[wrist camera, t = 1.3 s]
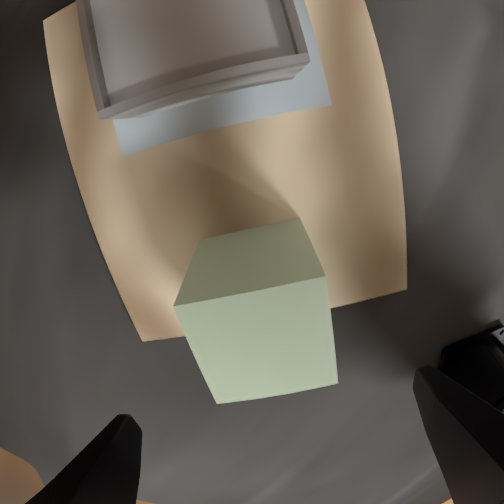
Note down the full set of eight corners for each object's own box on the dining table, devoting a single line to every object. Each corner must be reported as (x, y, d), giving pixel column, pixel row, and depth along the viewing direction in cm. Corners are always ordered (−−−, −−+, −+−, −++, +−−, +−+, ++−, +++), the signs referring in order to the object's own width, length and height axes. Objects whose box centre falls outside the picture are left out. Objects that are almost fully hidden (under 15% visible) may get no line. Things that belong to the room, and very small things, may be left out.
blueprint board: (332, -62, 10) (360, -116, 5) (400, 281, 18) (443, 338, 13) (51, 17, 11) (-11, -3, 6) (146, 331, 19) (119, 396, 14)
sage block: (300, 217, 15) (325, 275, 10) (315, 304, 17) (338, 383, 12) (199, 239, 16) (173, 306, 10) (226, 321, 18) (216, 403, 12)
